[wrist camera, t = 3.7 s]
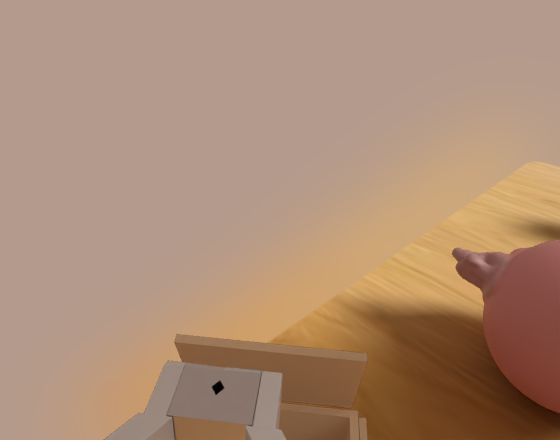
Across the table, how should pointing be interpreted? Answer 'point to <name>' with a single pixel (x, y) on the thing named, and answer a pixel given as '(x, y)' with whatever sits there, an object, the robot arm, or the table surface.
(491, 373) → the table surface
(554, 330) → the balloon
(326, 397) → the front flap
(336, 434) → the carton
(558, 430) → the table surface
